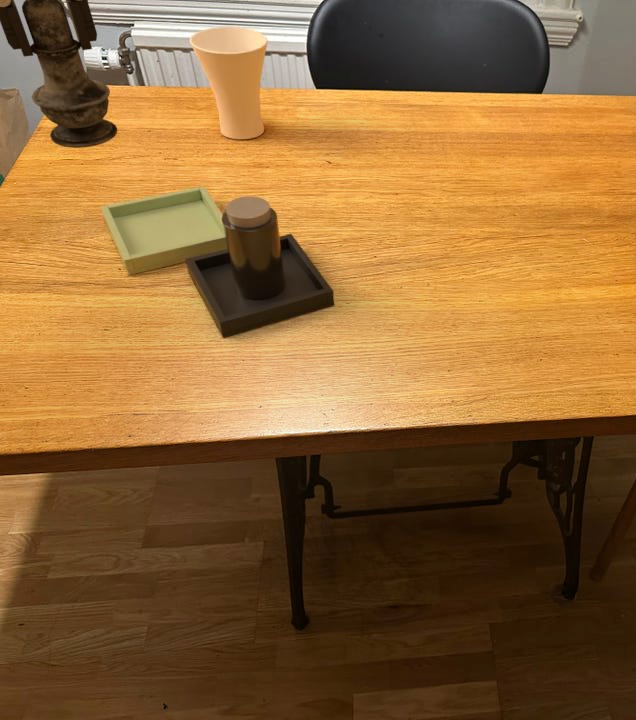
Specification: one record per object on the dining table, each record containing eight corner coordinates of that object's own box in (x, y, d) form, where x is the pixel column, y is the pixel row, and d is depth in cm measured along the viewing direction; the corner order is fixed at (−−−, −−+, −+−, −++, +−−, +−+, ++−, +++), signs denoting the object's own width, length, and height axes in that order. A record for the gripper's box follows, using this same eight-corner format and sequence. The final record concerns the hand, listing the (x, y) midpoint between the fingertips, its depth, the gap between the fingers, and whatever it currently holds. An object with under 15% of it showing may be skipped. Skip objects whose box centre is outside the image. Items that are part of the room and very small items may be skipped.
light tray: (128, 275, 80) (124, 260, 78) (104, 220, 87) (100, 206, 85) (238, 249, 85) (235, 234, 84) (207, 199, 92) (204, 185, 91)
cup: (210, 115, 110) (194, 25, 101) (278, 116, 112) (269, 27, 103) (203, 146, 103) (184, 52, 94) (276, 146, 105) (265, 54, 96)
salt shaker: (46, 122, 62) (-9, -28, 53) (118, 115, 64) (76, -30, 55) (46, 153, 58) (-13, -2, 50) (123, 144, 60) (79, -6, 52)
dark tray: (223, 338, 73) (219, 322, 72) (188, 273, 81) (185, 258, 79) (334, 305, 79) (333, 290, 78) (292, 247, 86) (291, 233, 85)
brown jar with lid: (244, 305, 77) (229, 226, 70) (227, 278, 80) (212, 199, 73) (292, 292, 79) (283, 214, 72) (275, 265, 82) (264, 188, 75)
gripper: (-177, -227, 39) (-42, 80, 51) (98, -217, 45) (161, 55, 57) (-174, -243, 43) (-50, 43, 55) (77, -232, 49) (139, 24, 61)
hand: (57, 48), depth 56 cm, fingers closed on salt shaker, 3 cm apart
